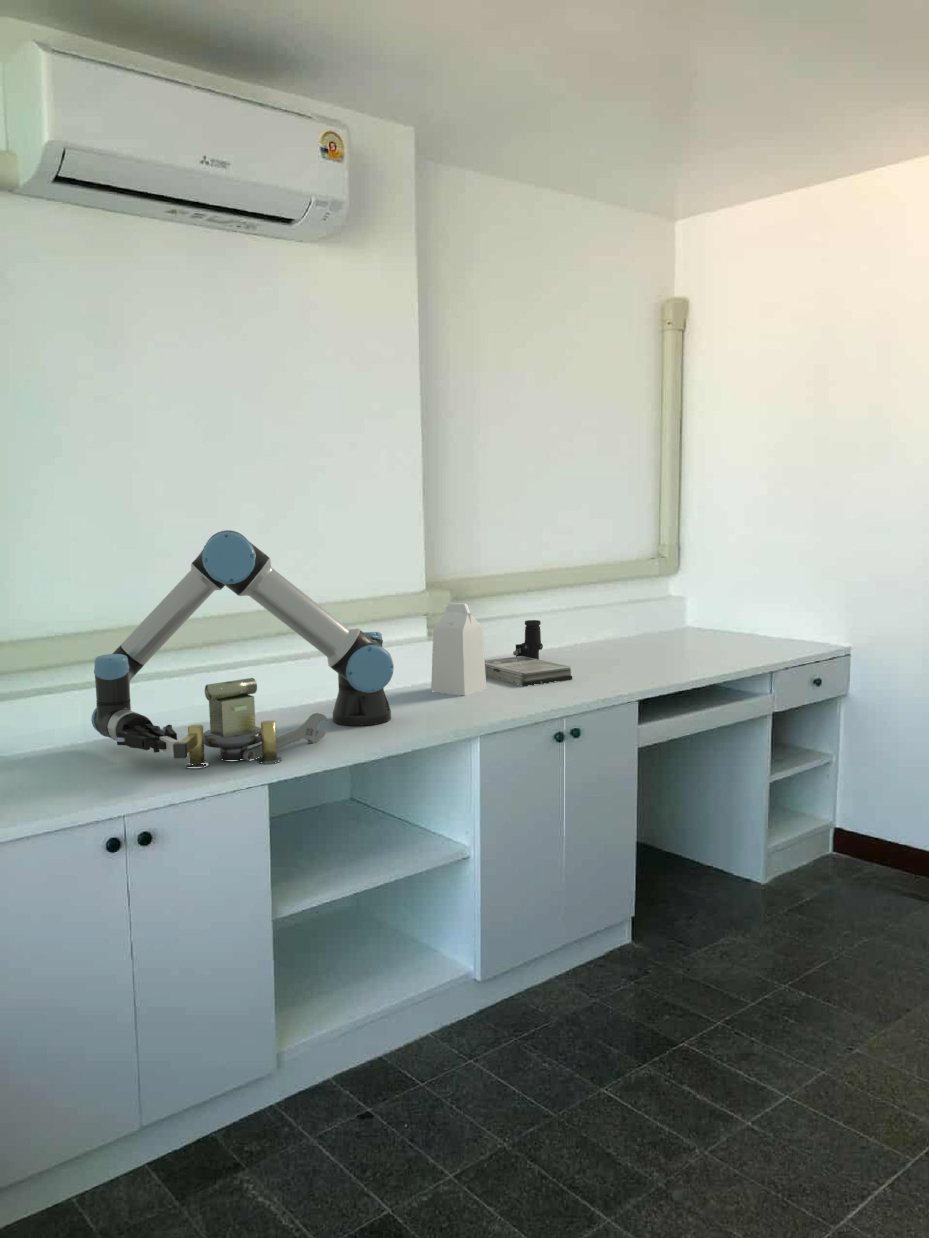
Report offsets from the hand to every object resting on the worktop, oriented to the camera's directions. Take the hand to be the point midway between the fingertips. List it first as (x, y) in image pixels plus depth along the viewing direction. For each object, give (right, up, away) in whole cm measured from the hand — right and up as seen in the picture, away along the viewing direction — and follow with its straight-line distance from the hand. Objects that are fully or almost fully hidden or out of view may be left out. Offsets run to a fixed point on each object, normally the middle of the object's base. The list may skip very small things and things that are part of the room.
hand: (176, 748), depth 212 cm
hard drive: (+79, +8, +109) cm, 135 cm away
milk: (+59, +6, +89) cm, 106 cm away
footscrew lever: (+2, -5, +5) cm, 7 cm away
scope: (+83, +12, +139) cm, 163 cm away
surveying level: (+7, -5, +15) cm, 17 cm away
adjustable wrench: (+20, -2, +22) cm, 30 cm away
